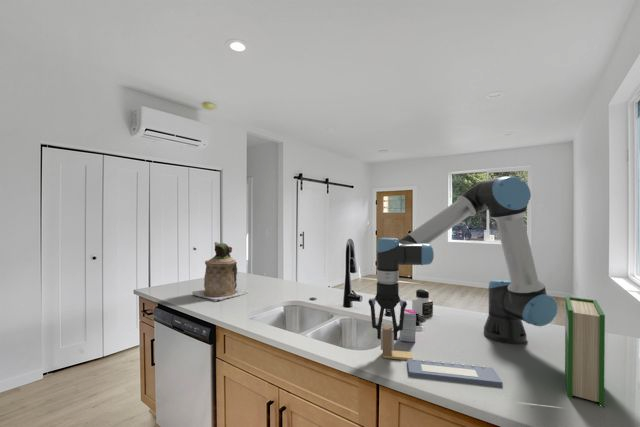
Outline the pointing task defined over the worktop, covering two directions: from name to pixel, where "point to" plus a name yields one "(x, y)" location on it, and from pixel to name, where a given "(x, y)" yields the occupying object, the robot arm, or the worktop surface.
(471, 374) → the blue-grey flat rectangular block
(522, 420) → the worktop surface
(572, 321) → the hardback book
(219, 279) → the cookie jar
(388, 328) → the wooden l-shaped block
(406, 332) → the supplement box
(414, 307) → the medicine bottle
